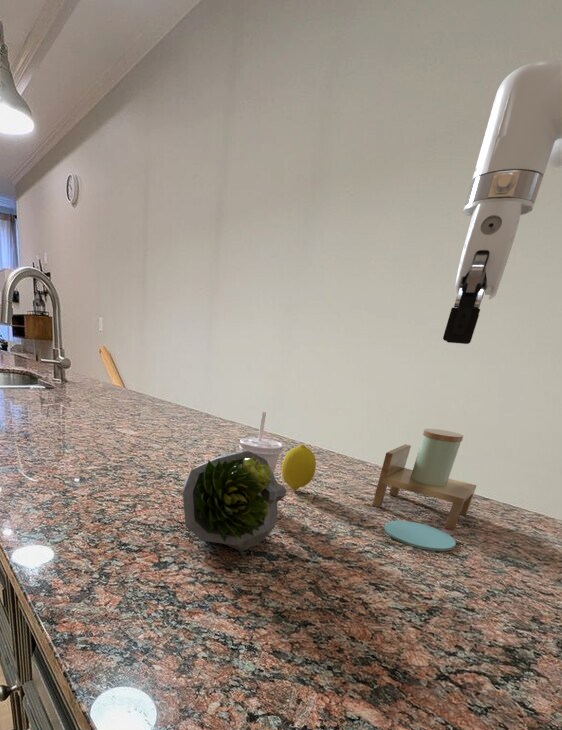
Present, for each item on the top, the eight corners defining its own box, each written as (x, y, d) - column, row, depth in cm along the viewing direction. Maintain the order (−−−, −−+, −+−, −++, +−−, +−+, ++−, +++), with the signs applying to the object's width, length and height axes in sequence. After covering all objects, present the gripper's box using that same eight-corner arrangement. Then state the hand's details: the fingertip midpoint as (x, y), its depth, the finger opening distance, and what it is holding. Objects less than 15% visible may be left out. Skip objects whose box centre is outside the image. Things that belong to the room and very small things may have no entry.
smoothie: (259, 495, 73) (273, 409, 68) (280, 510, 68) (298, 417, 62) (224, 497, 71) (236, 408, 65) (243, 512, 65) (258, 417, 60)
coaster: (461, 538, 63) (462, 535, 63) (446, 557, 57) (447, 555, 57) (395, 518, 69) (396, 515, 68) (375, 534, 62) (376, 531, 62)
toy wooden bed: (466, 514, 73) (485, 461, 70) (453, 530, 66) (473, 472, 62) (391, 493, 80) (405, 444, 77) (371, 505, 73) (386, 452, 70)
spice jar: (450, 482, 71) (466, 434, 68) (442, 489, 68) (459, 438, 65) (415, 473, 75) (428, 427, 72) (405, 479, 71) (419, 430, 68)
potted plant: (291, 503, 61) (329, 517, 46) (215, 558, 62) (227, 589, 47) (240, 431, 60) (261, 421, 45) (162, 487, 60) (158, 496, 46)
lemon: (290, 482, 81) (299, 439, 78) (317, 492, 77) (326, 447, 74) (271, 487, 77) (279, 442, 74) (297, 497, 74) (307, 450, 70)
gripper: (546, 173, 48) (490, 343, 54) (529, 214, 61) (486, 346, 68) (466, 178, 51) (422, 338, 58) (467, 216, 65) (431, 341, 71)
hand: (456, 342), depth 63 cm, fingers open, 9 cm apart
